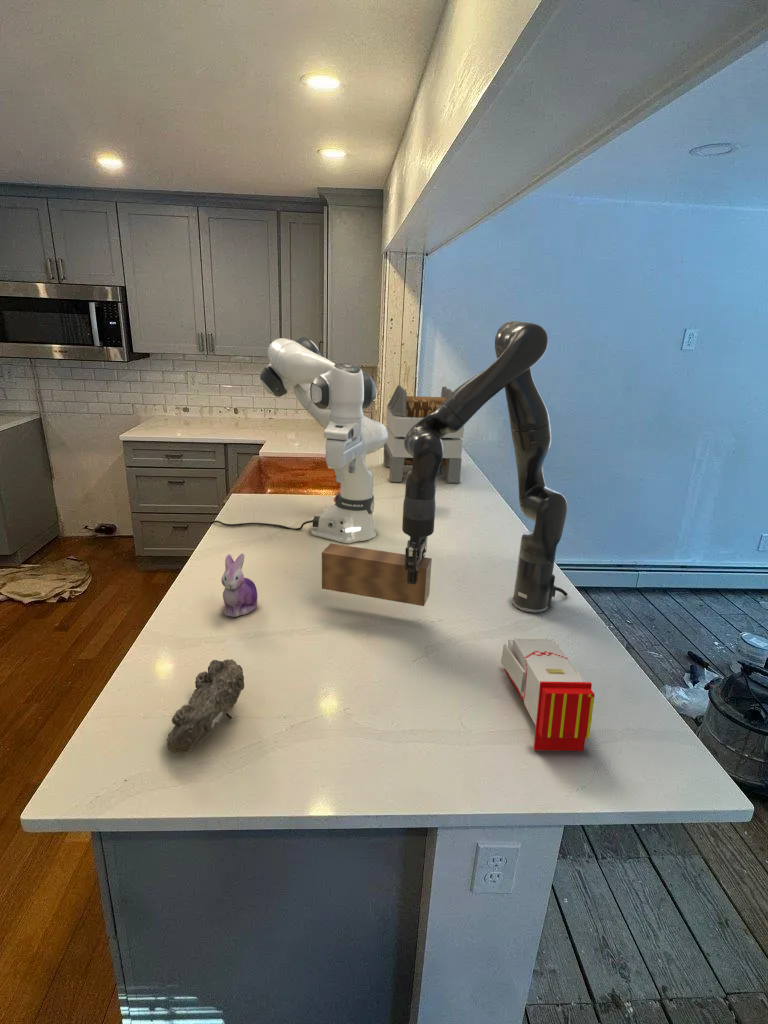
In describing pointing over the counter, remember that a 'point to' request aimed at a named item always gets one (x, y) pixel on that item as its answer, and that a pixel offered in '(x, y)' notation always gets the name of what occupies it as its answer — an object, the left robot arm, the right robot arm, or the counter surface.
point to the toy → (550, 693)
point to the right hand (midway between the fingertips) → (415, 577)
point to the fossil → (206, 705)
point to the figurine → (237, 589)
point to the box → (374, 574)
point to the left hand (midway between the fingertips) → (346, 477)
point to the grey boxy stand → (403, 418)
